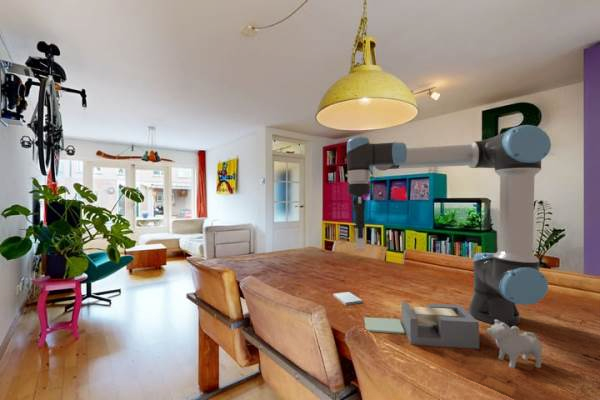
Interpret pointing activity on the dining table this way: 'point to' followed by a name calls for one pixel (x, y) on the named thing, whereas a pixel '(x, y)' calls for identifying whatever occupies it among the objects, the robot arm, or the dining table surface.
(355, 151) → the robot arm
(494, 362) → the dining table surface
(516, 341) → the animal figurine
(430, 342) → the dock
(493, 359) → the dining table surface
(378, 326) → the mat
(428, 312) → the tile
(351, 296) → the hard drive
